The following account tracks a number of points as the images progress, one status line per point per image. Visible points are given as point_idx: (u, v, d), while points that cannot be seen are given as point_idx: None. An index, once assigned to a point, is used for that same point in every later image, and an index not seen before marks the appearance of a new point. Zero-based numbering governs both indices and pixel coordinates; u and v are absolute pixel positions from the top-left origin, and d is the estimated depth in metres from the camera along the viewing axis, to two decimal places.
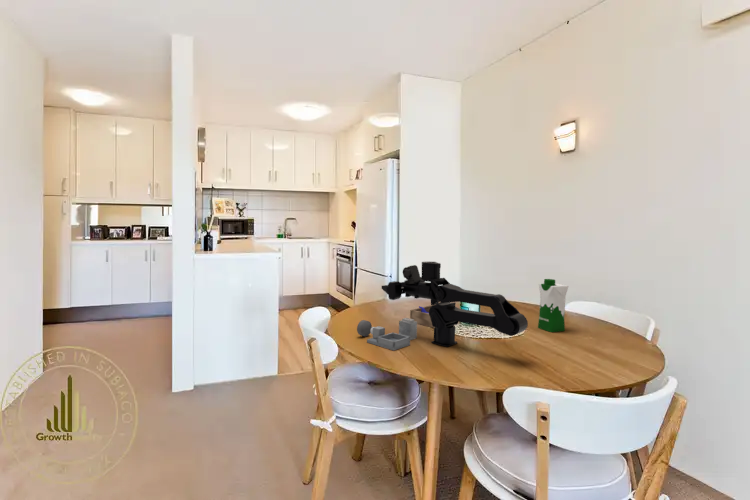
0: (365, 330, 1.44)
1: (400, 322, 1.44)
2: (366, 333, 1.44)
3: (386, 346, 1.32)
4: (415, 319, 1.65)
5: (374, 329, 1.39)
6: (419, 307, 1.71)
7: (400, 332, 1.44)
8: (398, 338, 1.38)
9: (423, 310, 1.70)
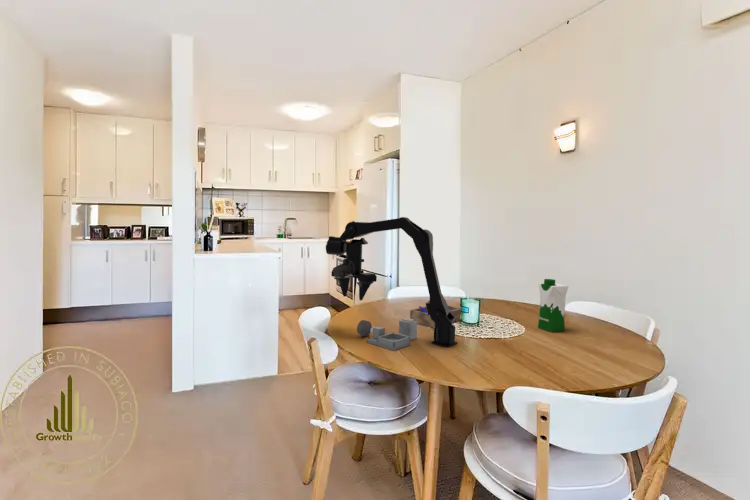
0: (365, 330, 1.44)
1: (400, 322, 1.44)
2: (366, 333, 1.44)
3: (386, 346, 1.32)
4: (415, 319, 1.65)
5: (374, 329, 1.39)
6: (419, 307, 1.71)
7: (400, 332, 1.44)
8: (398, 338, 1.38)
9: (423, 310, 1.70)
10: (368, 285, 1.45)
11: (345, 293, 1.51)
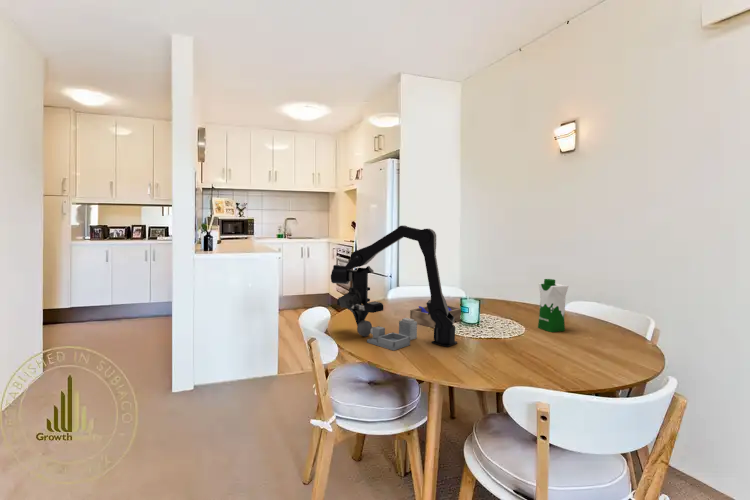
0: (365, 330, 1.43)
1: (400, 322, 1.44)
2: (366, 333, 1.44)
3: (386, 346, 1.32)
4: (415, 319, 1.65)
5: (374, 329, 1.39)
6: (419, 307, 1.71)
7: (400, 332, 1.44)
8: (398, 338, 1.38)
9: (423, 310, 1.70)
10: (367, 312, 1.46)
11: None
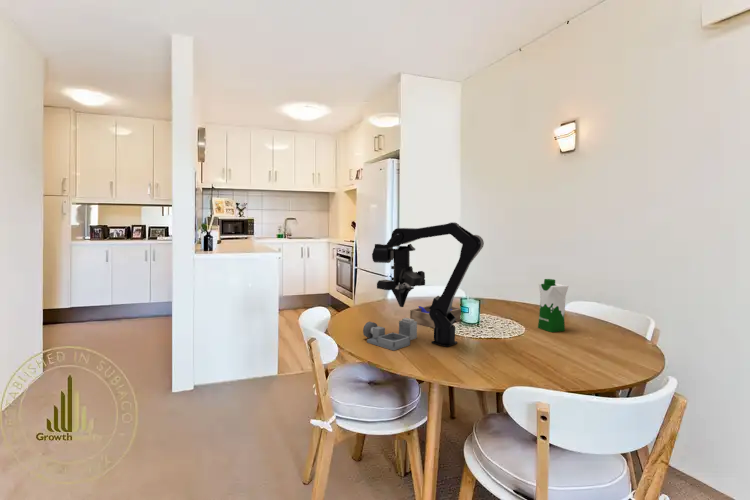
0: None
1: (400, 322, 1.44)
2: (372, 335, 1.42)
3: (386, 346, 1.32)
4: (415, 319, 1.65)
5: (374, 329, 1.39)
6: (419, 307, 1.71)
7: (400, 332, 1.44)
8: (398, 338, 1.38)
9: (423, 310, 1.70)
10: None
11: None
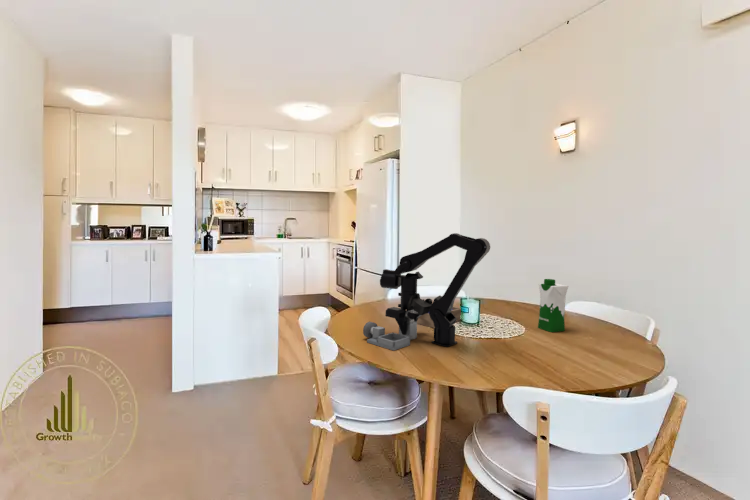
0: None
1: None
2: (372, 335, 1.42)
3: (386, 346, 1.32)
4: None
5: (374, 329, 1.39)
6: None
7: (400, 332, 1.44)
8: (398, 338, 1.38)
9: None
10: None
11: None
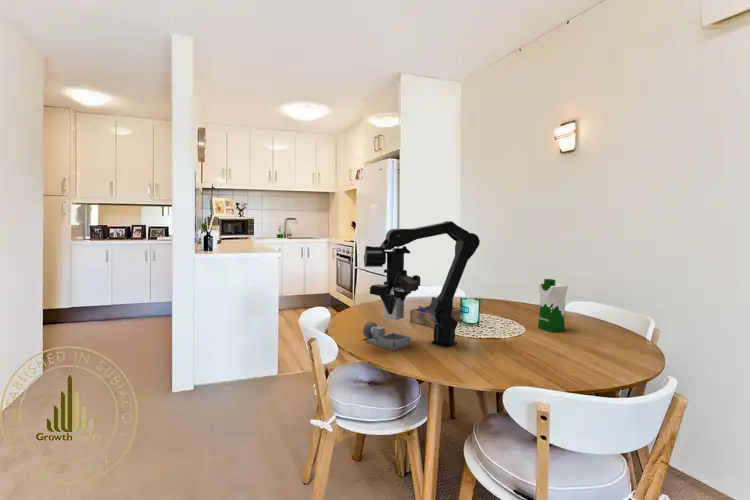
0: None
1: None
2: (372, 335, 1.42)
3: (386, 346, 1.32)
4: (415, 319, 1.65)
5: (374, 329, 1.39)
6: (419, 307, 1.71)
7: (386, 311, 1.34)
8: (398, 338, 1.38)
9: (423, 309, 1.70)
10: None
11: None
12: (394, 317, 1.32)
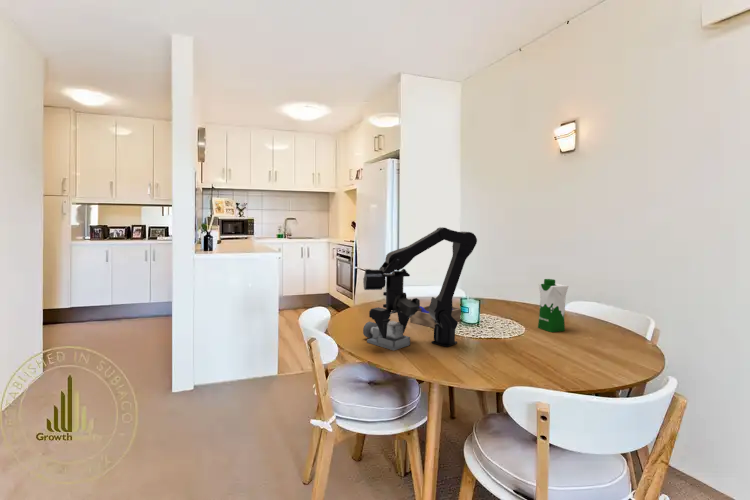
0: None
1: None
2: (372, 335, 1.42)
3: (386, 346, 1.32)
4: (415, 319, 1.65)
5: (374, 329, 1.39)
6: None
7: None
8: None
9: (423, 309, 1.70)
10: None
11: None
12: None
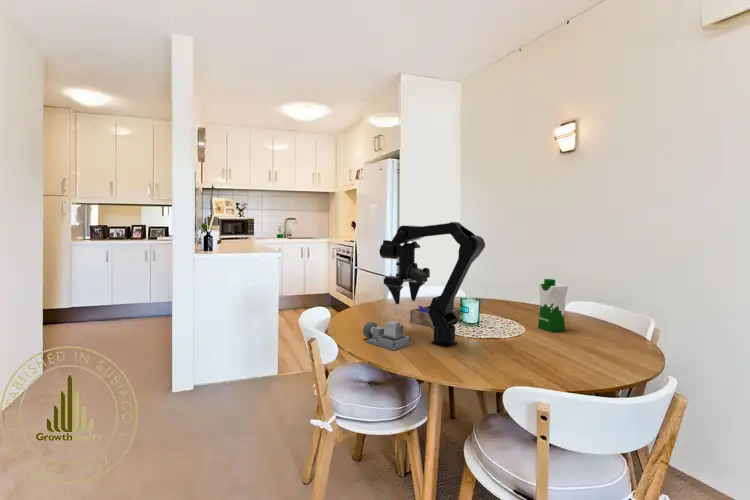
0: None
1: (385, 325, 1.35)
2: (372, 335, 1.42)
3: (386, 346, 1.32)
4: (415, 319, 1.65)
5: (374, 329, 1.39)
6: (419, 306, 1.71)
7: (385, 336, 1.35)
8: None
9: (423, 309, 1.70)
10: None
11: None
12: None
